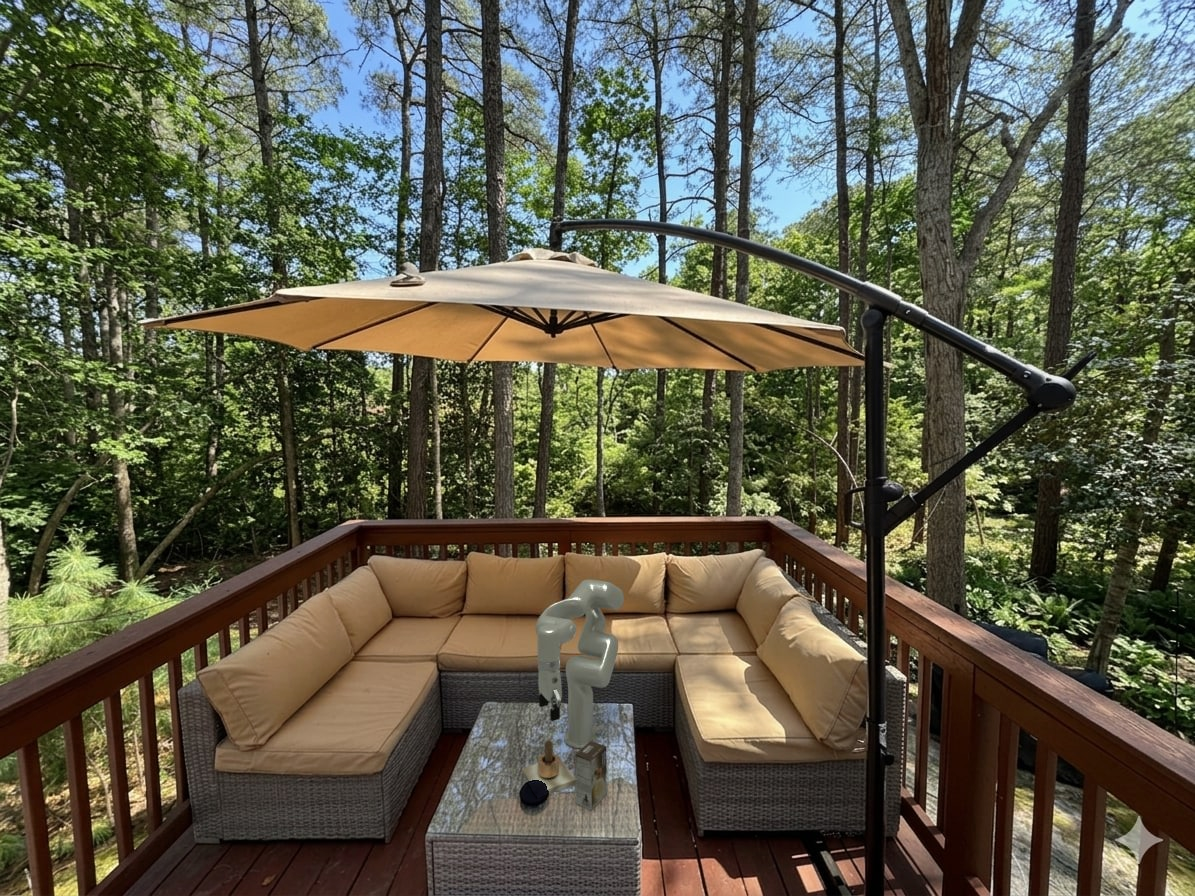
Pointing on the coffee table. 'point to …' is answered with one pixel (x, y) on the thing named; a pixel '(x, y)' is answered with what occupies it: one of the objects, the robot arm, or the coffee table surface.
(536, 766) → the post board
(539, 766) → the beige thick ring
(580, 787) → the coffee box
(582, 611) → the robot arm
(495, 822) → the coffee table surface
